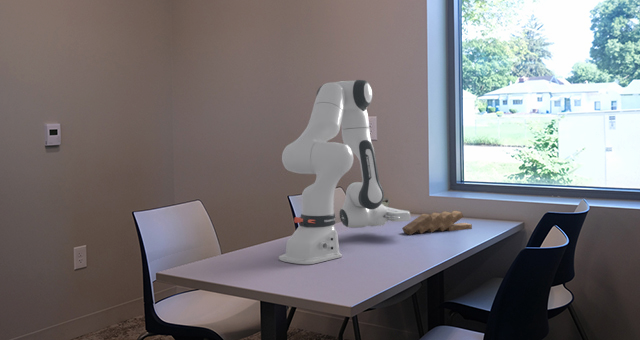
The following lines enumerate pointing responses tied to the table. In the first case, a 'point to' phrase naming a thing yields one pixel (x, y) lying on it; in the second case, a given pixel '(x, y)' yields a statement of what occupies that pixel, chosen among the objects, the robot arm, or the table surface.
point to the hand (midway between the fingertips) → (406, 212)
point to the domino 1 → (417, 224)
